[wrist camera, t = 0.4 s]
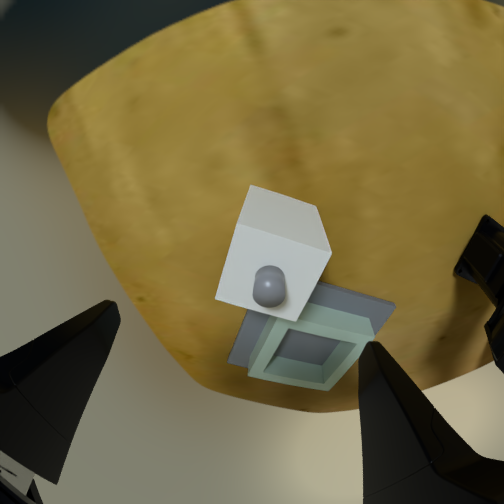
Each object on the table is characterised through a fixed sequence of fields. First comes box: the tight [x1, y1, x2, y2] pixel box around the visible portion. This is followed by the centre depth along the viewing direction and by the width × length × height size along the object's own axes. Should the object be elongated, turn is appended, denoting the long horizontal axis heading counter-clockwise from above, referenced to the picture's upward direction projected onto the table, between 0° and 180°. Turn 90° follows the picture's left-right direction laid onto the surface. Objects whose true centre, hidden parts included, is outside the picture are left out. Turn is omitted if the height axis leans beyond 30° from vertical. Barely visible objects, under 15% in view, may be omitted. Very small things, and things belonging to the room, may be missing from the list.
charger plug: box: [215, 185, 332, 322], centre depth 17 cm, size 5×5×8 cm
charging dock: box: [227, 281, 396, 391], centre depth 25 cm, size 13×13×3 cm
